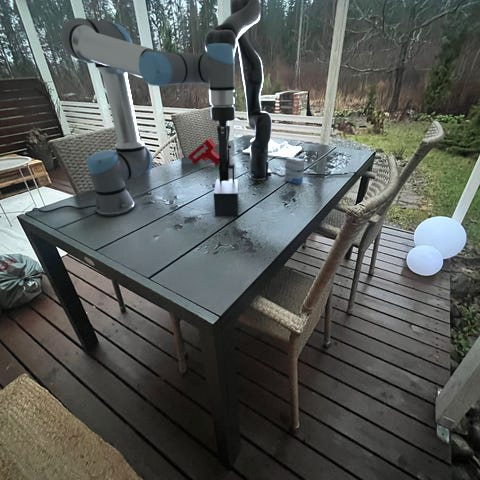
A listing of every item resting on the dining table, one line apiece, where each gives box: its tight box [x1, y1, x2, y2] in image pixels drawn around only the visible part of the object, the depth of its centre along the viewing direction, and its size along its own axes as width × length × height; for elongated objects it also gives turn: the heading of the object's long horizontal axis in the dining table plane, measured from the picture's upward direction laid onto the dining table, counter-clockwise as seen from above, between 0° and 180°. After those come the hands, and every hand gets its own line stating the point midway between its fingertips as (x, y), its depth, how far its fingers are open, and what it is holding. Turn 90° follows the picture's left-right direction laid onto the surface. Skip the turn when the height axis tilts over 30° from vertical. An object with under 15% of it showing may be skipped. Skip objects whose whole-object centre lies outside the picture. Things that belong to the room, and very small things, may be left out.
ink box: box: [284, 156, 306, 185], centre depth 140 cm, size 8×5×12 cm, turn 47°
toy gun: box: [188, 138, 220, 167], centre depth 168 cm, size 18×4×15 cm
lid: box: [213, 164, 239, 197], centre depth 110 cm, size 16×9×8 cm, turn 0°
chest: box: [213, 194, 239, 217], centre depth 114 cm, size 15×9×9 cm, turn 0°
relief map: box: [242, 138, 304, 160], centre depth 192 cm, size 27×35×5 cm
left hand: (225, 173), depth 94 cm, fingers open, 13 cm apart
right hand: (224, 144), depth 108 cm, fingers open, 8 cm apart
